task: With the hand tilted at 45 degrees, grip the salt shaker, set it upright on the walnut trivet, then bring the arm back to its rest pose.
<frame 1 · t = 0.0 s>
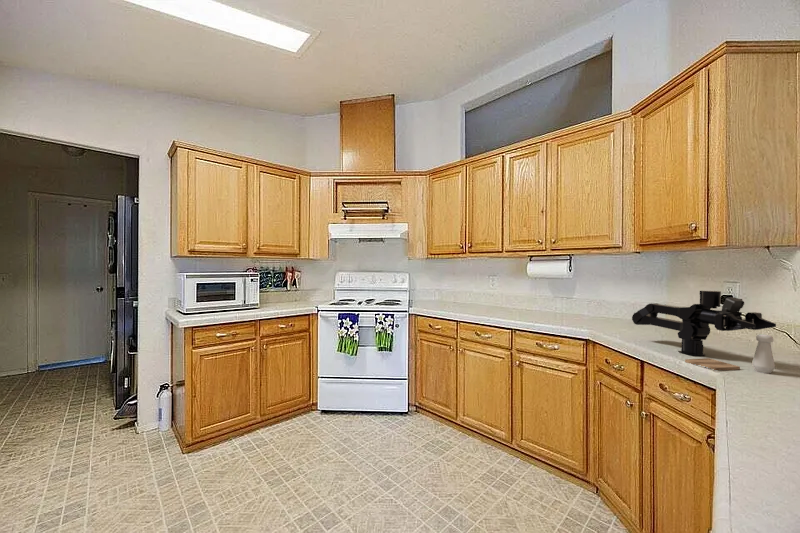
hand: (765, 325, 128), 17 cm above the worktop, tool horizontal, fingers open, 9 cm apart
walnut trivet: (711, 365, 137), on the worktop
salt shaker: (763, 372, 130), on the worktop
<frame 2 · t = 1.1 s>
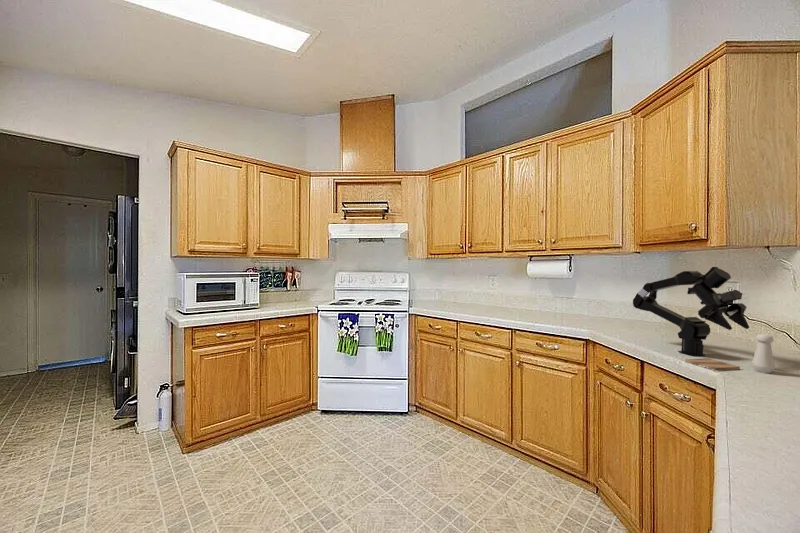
hand: (739, 328, 137), 14 cm above the worktop, tool tilted 45°, fingers open, 9 cm apart
nothing on the worktop moved.
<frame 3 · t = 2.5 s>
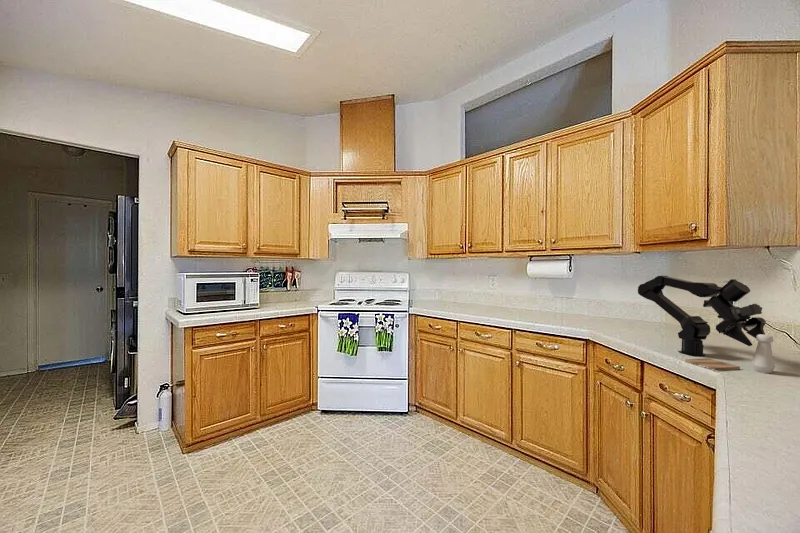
hand: (759, 344, 131), 9 cm above the worktop, tool tilted 45°, fingers open, 9 cm apart
nothing on the worktop moved.
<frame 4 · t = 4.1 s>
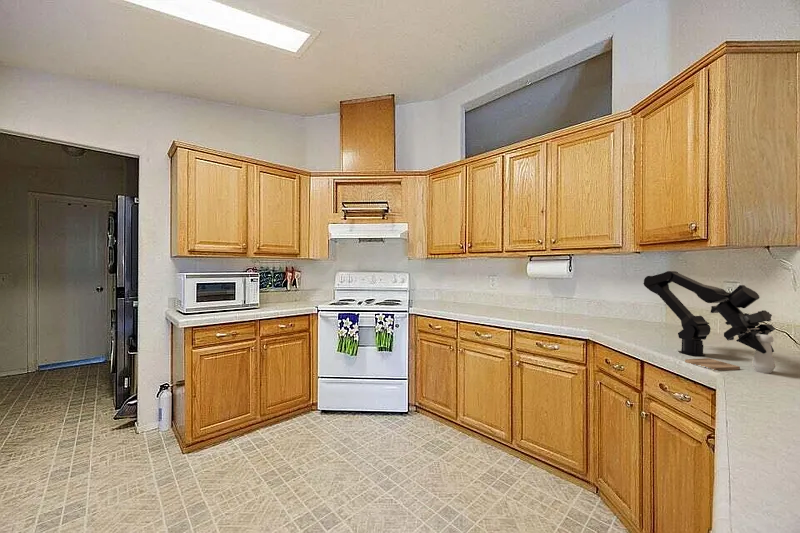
hand: (769, 352, 129), 7 cm above the worktop, tool tilted 45°, fingers closed on salt shaker, 3 cm apart
salt shaker: (763, 372, 130), on the worktop, touching gripper
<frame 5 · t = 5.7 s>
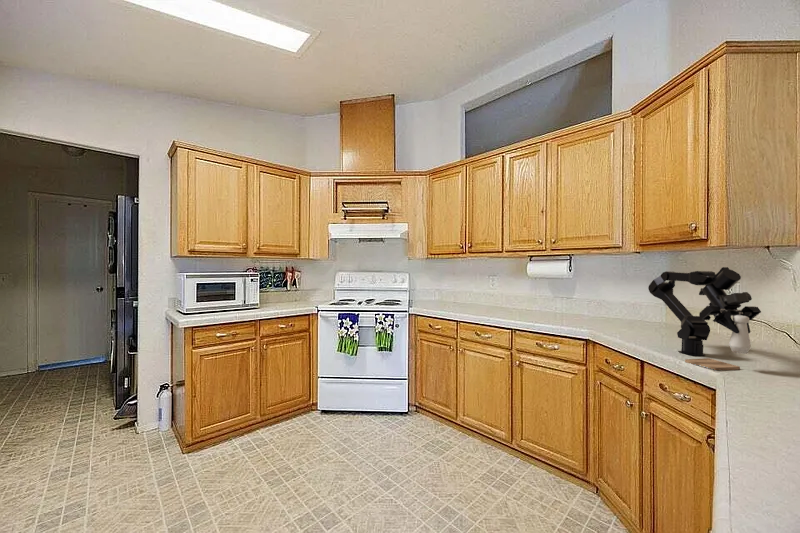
hand: (743, 332, 131), 13 cm above the worktop, tool tilted 45°, fingers closed on salt shaker, 3 cm apart
salt shaker: (739, 352, 133), point 6 cm above the worktop, touching gripper
when the fingers open (9 cm above the worktop, at t = 7.5 s): salt shaker drops 1 cm, resting on walnut trivet.
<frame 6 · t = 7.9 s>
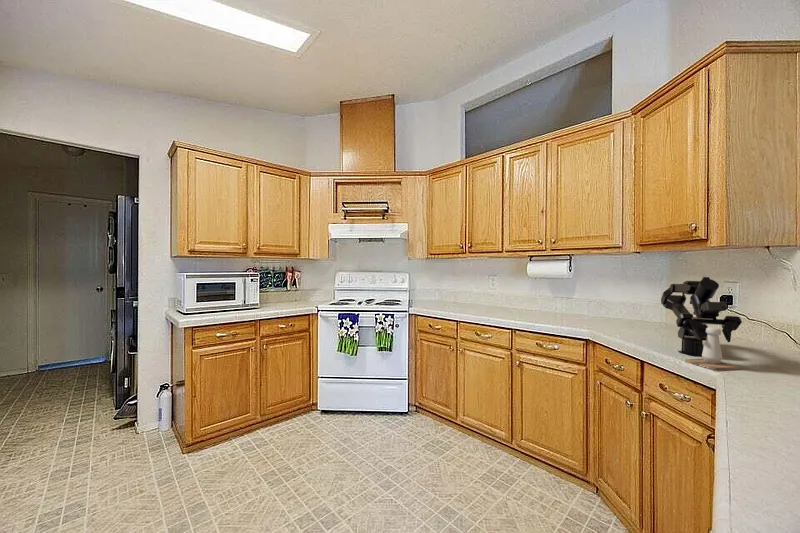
hand: (714, 340, 135), 10 cm above the worktop, tool tilted 45°, fingers open, 8 cm apart
salt shaker: (711, 363, 137), point 1 cm above the worktop, touching walnut trivet
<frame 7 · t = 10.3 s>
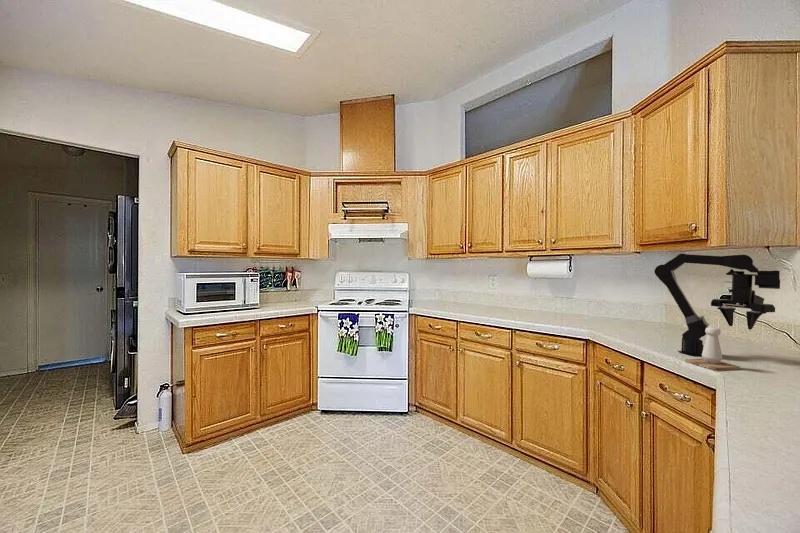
hand: (740, 327, 143), 13 cm above the worktop, tool pointing down, fingers open, 6 cm apart
nothing on the worktop moved.
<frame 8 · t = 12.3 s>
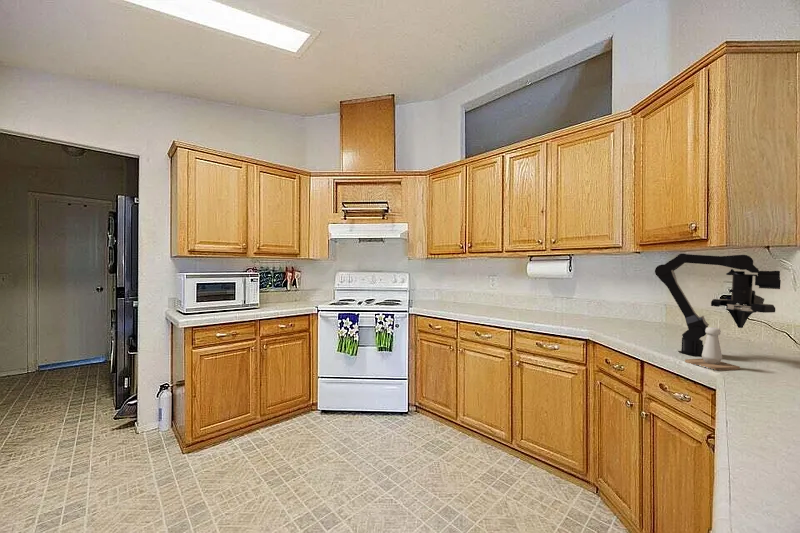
hand: (740, 327, 143), 13 cm above the worktop, tool pointing down, fingers closed
nothing on the worktop moved.
at the end: salt shaker inside the target area on the walnut trivet (0.1 cm from its centre), point 0.8 cm above the walnut trivet's base; salt shaker tilted 0°; the gripper is holding nothing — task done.
